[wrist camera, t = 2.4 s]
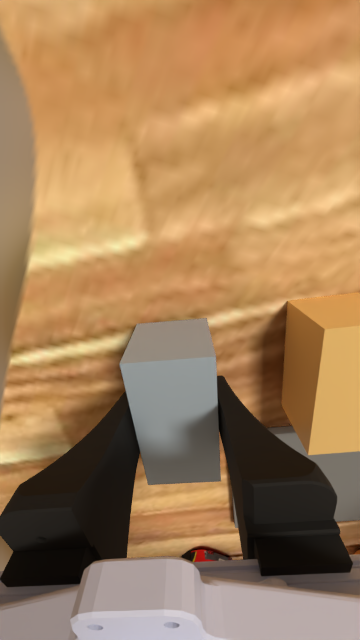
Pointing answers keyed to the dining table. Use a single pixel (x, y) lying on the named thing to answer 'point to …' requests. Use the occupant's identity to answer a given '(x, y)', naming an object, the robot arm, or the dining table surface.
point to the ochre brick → (323, 372)
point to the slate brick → (174, 400)
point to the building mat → (330, 474)
